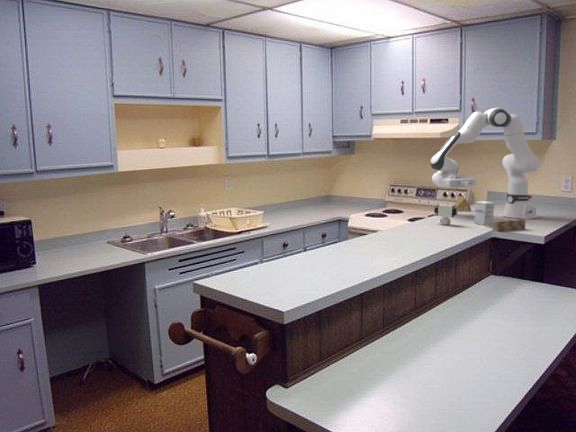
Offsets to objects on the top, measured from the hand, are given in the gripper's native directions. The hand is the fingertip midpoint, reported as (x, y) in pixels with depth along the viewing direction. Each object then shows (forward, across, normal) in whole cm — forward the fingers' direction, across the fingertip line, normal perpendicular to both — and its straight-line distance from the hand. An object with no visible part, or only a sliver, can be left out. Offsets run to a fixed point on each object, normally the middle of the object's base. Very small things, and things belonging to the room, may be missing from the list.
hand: (469, 183), depth 299 cm
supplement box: (+13, 0, +22) cm, 26 cm away
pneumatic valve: (+7, -22, +22) cm, 32 cm away
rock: (-31, +25, +22) cm, 45 cm away
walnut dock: (+26, 0, +22) cm, 34 cm away
